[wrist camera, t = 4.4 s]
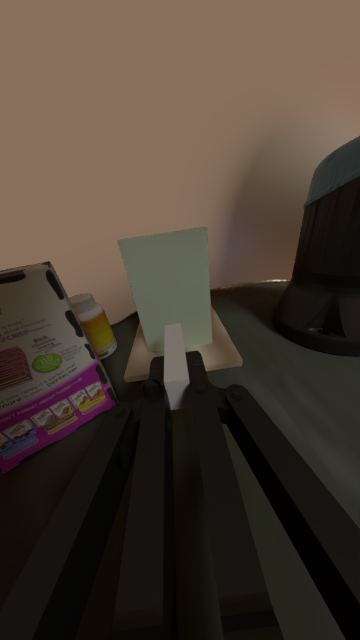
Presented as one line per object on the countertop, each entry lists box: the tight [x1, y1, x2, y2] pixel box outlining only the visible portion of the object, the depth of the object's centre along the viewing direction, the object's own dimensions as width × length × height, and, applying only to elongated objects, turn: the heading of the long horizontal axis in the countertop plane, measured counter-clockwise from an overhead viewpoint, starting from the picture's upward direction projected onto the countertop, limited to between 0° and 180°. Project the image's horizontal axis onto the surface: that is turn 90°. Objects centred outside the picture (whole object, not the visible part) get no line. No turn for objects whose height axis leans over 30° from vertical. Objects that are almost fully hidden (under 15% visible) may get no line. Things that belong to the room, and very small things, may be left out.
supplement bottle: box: [69, 293, 117, 360], centre depth 28 cm, size 6×6×10 cm
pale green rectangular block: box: [118, 227, 212, 352], centre depth 24 cm, size 10×3×16 cm, turn 94°
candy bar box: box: [0, 261, 118, 474], centre depth 16 cm, size 11×5×16 cm, turn 125°
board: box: [124, 305, 243, 383], centre depth 31 cm, size 16×18×1 cm
